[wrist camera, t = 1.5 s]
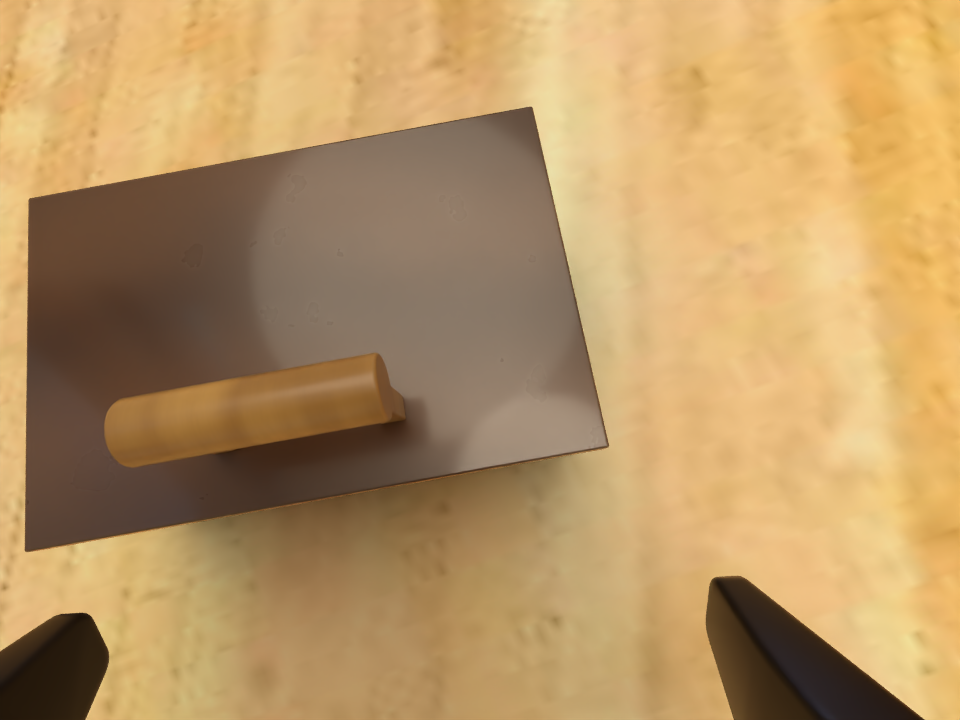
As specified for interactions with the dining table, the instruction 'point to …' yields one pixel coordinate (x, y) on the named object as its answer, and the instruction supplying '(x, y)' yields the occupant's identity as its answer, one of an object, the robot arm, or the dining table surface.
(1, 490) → the dining table surface
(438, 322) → the brown box lid
